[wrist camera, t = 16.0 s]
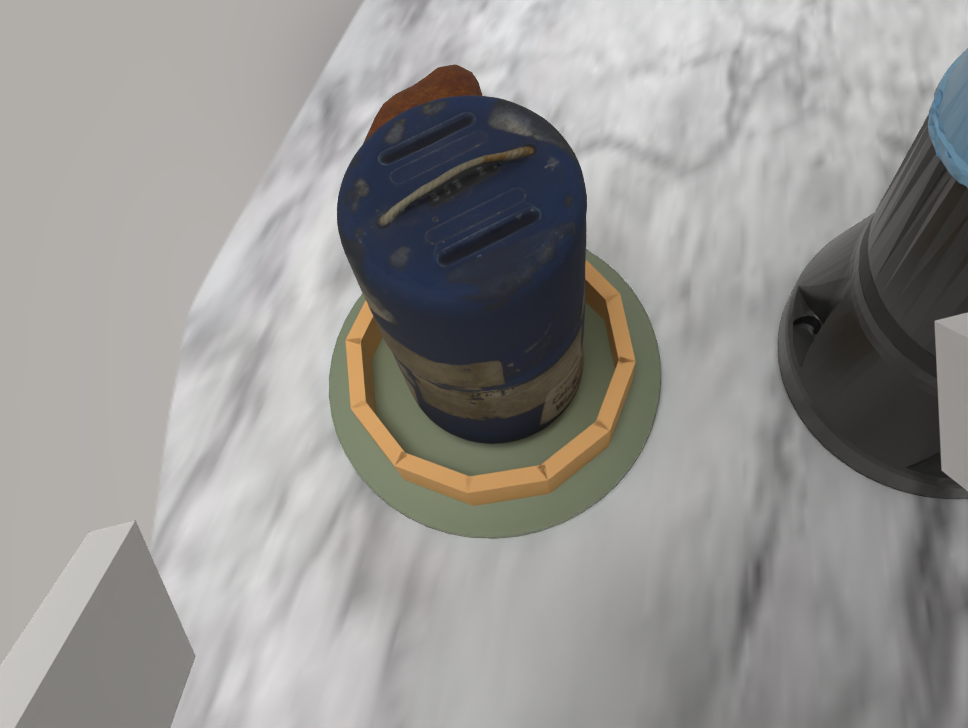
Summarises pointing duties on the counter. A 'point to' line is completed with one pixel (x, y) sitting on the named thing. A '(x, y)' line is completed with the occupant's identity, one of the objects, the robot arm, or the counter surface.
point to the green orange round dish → (505, 466)
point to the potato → (428, 92)
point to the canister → (473, 261)
